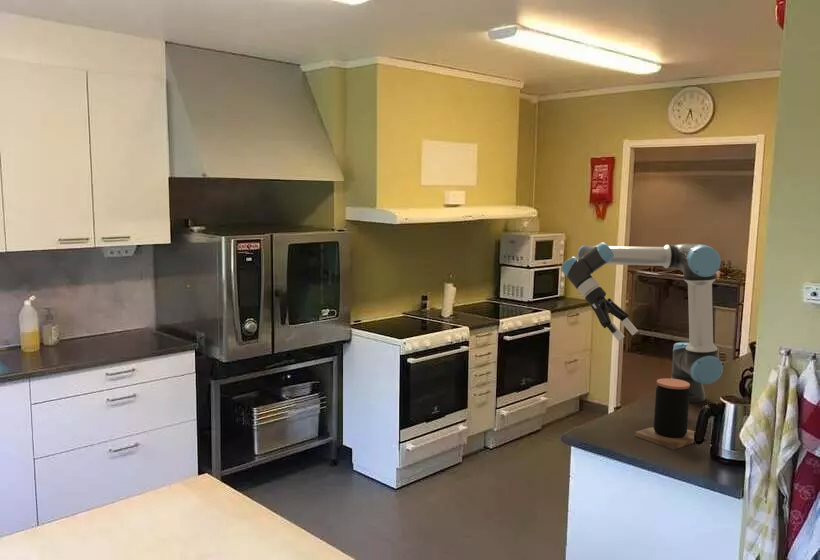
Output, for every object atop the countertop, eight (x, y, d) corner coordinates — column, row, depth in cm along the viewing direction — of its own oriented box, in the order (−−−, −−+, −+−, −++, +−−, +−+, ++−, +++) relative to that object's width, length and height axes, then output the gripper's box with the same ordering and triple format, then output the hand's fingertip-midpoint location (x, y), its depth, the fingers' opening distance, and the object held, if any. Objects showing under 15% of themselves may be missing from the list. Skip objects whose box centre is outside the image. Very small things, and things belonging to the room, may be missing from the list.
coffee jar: (681, 428, 236) (684, 378, 234) (690, 439, 225) (694, 387, 223) (650, 427, 237) (653, 377, 235) (658, 437, 226) (661, 385, 224)
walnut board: (666, 426, 242) (666, 422, 242) (705, 439, 230) (705, 435, 230) (635, 435, 232) (635, 431, 232) (673, 449, 220) (673, 445, 220)
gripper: (598, 294, 269) (633, 336, 261) (571, 302, 250) (607, 347, 242) (612, 282, 265) (648, 325, 257) (585, 289, 246) (622, 335, 238)
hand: (628, 336), depth 250 cm, fingers open, 13 cm apart
